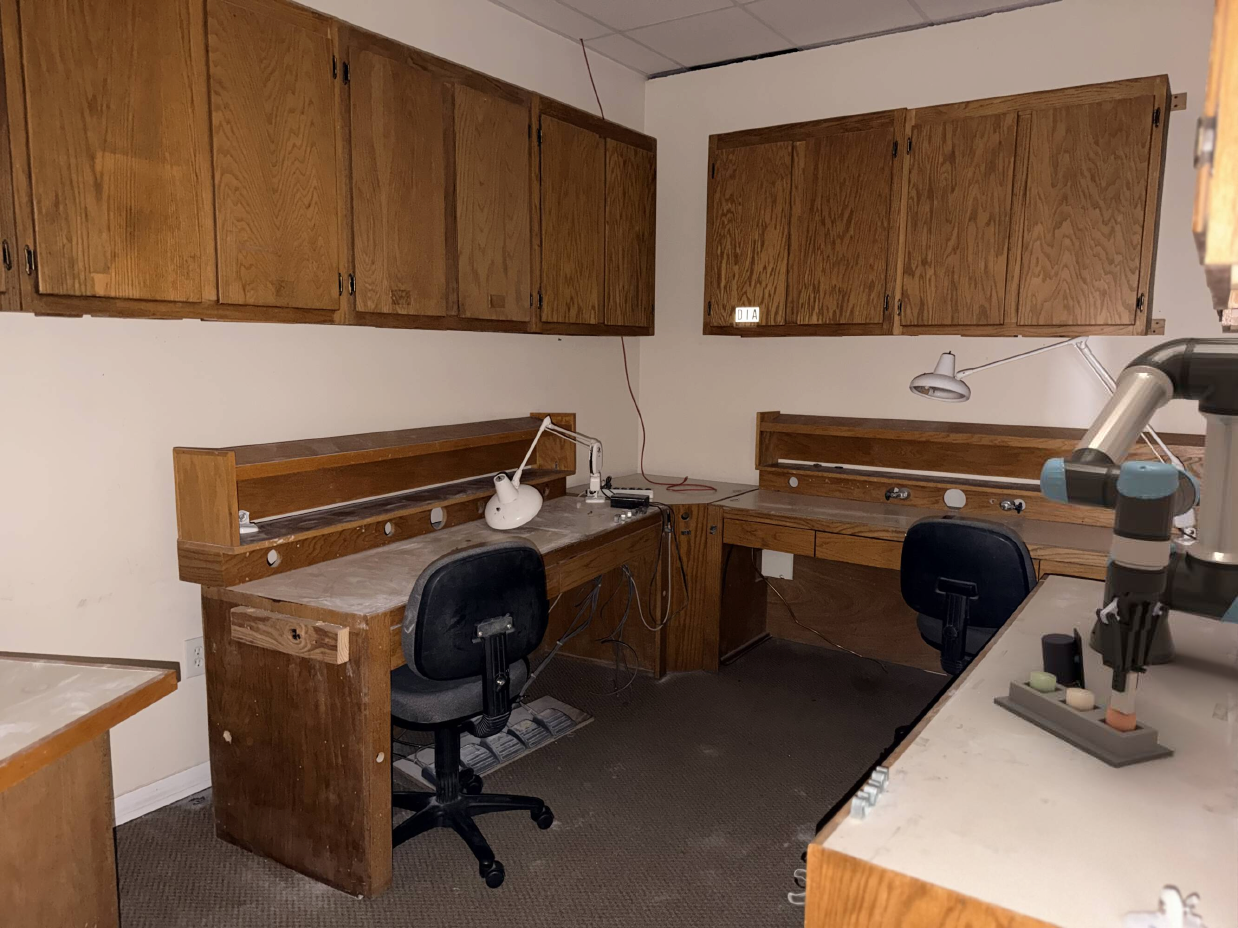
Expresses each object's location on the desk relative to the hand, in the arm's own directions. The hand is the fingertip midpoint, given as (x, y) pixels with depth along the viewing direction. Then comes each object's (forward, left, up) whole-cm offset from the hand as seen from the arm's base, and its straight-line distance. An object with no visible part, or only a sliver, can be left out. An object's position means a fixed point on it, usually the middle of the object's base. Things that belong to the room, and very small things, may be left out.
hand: (1121, 709), depth 130 cm
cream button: (0, -8, -4) cm, 9 cm away
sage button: (0, -15, -4) cm, 16 cm away
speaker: (-13, -23, -7) cm, 27 cm away
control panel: (0, -8, -6) cm, 10 cm away
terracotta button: (0, 0, -4) cm, 4 cm away
